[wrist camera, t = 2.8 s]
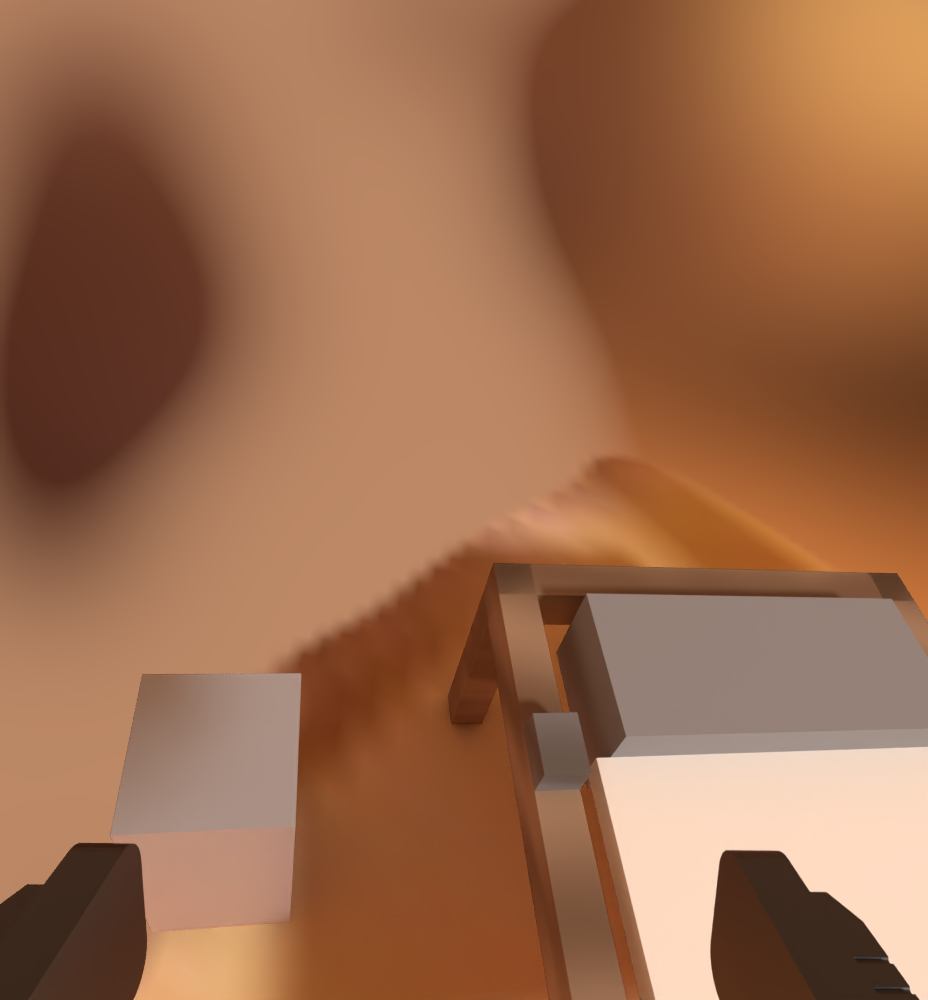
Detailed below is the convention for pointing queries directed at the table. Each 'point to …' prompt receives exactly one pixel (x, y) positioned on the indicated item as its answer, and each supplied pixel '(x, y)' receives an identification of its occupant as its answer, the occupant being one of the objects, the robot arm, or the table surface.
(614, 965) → the frame
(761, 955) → the robot arm
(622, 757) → the trapdoor
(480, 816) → the table surface
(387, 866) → the table surface
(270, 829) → the granite block
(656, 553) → the table surface
